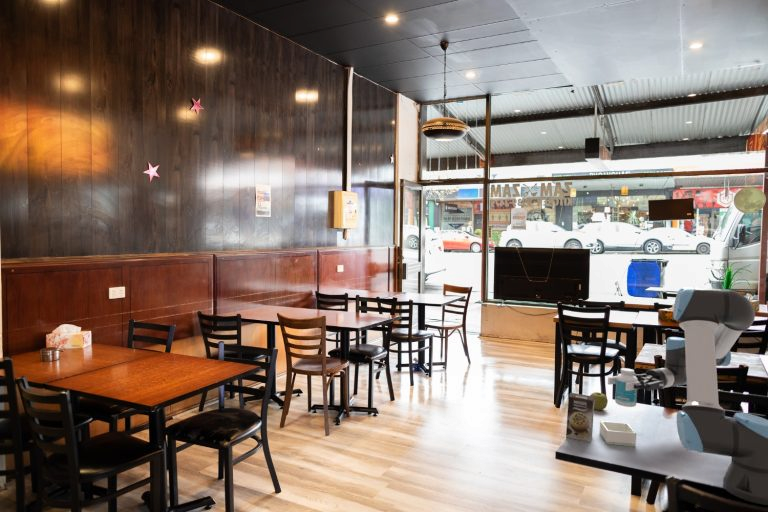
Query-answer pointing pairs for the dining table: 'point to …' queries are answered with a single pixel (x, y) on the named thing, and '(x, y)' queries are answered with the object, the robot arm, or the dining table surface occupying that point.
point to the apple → (599, 401)
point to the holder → (617, 433)
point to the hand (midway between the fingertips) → (617, 383)
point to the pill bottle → (621, 394)
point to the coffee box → (580, 417)
